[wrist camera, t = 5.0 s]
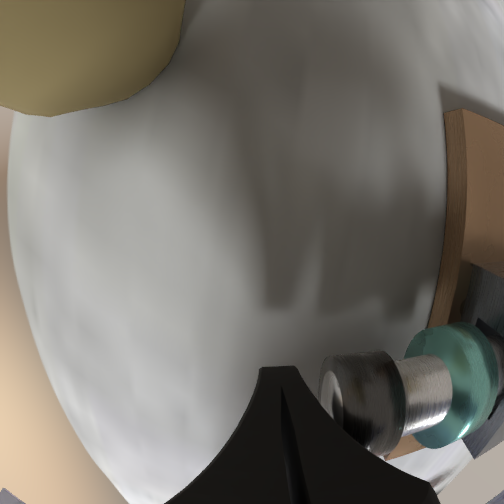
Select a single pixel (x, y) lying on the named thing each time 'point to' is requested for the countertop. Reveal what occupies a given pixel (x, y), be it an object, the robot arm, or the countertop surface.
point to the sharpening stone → (472, 250)
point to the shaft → (416, 388)
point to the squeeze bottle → (82, 51)
